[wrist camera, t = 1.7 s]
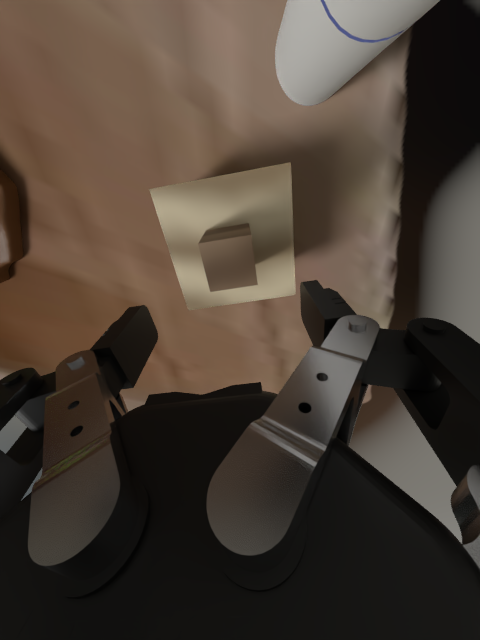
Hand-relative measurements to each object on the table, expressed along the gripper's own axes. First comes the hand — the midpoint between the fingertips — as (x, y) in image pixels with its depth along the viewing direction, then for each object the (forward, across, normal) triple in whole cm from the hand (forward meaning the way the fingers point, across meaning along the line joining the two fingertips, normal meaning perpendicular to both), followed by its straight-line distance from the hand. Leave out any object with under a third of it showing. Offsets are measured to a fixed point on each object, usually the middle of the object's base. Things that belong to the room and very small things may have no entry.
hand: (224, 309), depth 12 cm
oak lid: (+13, 0, 0) cm, 13 cm away
